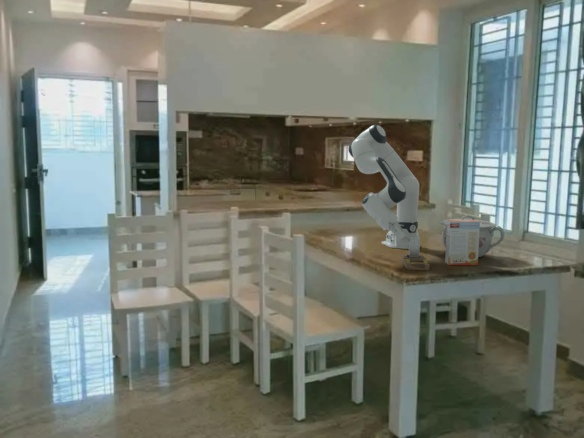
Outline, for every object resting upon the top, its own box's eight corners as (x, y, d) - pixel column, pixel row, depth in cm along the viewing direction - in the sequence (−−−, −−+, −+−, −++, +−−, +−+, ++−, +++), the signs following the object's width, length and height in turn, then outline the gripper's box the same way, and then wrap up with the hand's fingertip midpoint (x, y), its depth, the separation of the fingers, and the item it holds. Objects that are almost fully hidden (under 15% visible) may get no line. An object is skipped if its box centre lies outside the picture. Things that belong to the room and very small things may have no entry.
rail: (401, 258, 282) (401, 253, 282) (422, 259, 281) (422, 254, 281) (406, 269, 258) (406, 263, 258) (429, 270, 257) (429, 264, 257)
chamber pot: (427, 252, 301) (429, 212, 299) (470, 249, 311) (473, 211, 308) (460, 262, 275) (463, 219, 273) (507, 259, 285) (510, 218, 282)
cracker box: (473, 263, 275) (476, 219, 272) (477, 265, 269) (480, 221, 266) (444, 262, 275) (446, 219, 272) (448, 265, 269) (450, 220, 266)
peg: (408, 260, 278) (409, 236, 276) (417, 261, 278) (418, 236, 276) (409, 262, 274) (410, 237, 272) (418, 262, 273) (420, 237, 272)
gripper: (395, 220, 264) (415, 242, 264) (392, 214, 284) (411, 235, 284) (384, 229, 265) (405, 251, 265) (382, 223, 285) (402, 243, 285)
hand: (408, 243), depth 275 cm, fingers open, 8 cm apart
